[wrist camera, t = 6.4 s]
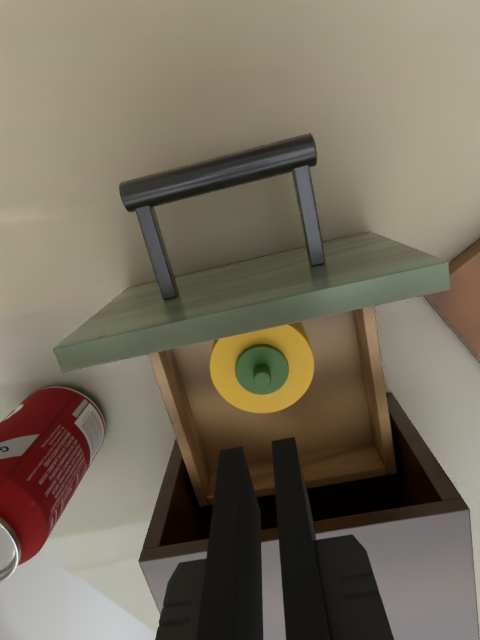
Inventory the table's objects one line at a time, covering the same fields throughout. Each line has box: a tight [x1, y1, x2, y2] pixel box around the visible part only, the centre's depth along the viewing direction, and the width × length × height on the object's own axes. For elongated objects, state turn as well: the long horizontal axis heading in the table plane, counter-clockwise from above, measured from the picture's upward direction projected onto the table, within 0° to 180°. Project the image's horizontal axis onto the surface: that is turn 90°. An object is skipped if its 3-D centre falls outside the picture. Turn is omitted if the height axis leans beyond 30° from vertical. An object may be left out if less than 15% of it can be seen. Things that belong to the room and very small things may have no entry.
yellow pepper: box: [209, 321, 315, 413], centre depth 24 cm, size 6×6×8 cm
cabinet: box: [139, 393, 480, 640], centre depth 28 cm, size 16×17×12 cm
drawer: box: [53, 133, 450, 507], centre depth 23 cm, size 22×17×11 cm
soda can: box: [0, 386, 106, 583], centre depth 26 cm, size 7×7×12 cm
